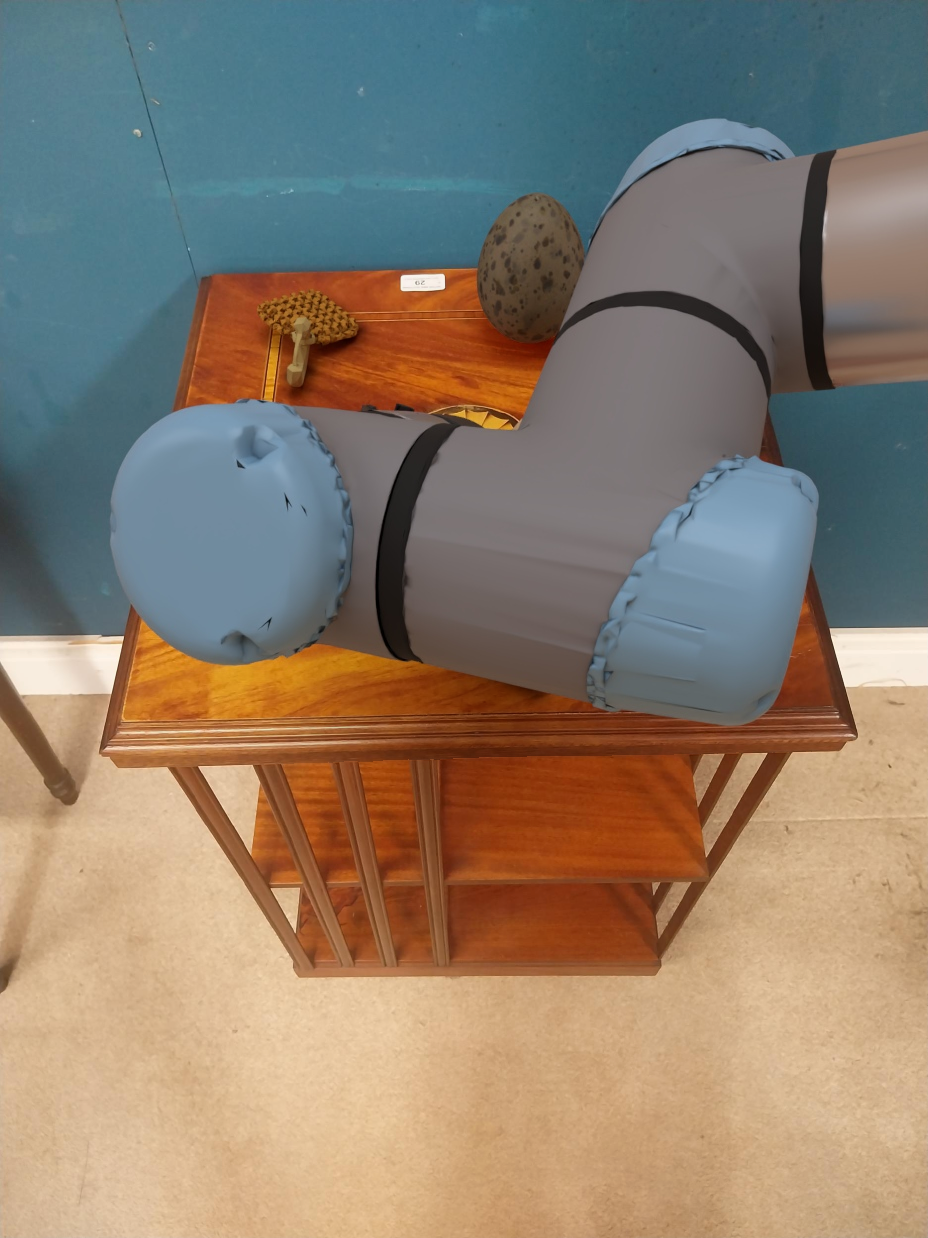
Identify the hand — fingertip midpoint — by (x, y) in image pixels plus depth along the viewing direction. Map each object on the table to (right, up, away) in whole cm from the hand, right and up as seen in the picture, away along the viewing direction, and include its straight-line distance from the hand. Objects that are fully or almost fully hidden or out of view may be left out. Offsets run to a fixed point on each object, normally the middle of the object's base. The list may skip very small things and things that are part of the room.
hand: (541, 478), depth 57 cm
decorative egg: (+2, +21, +33) cm, 39 cm away
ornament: (-21, +19, +32) cm, 43 cm away
